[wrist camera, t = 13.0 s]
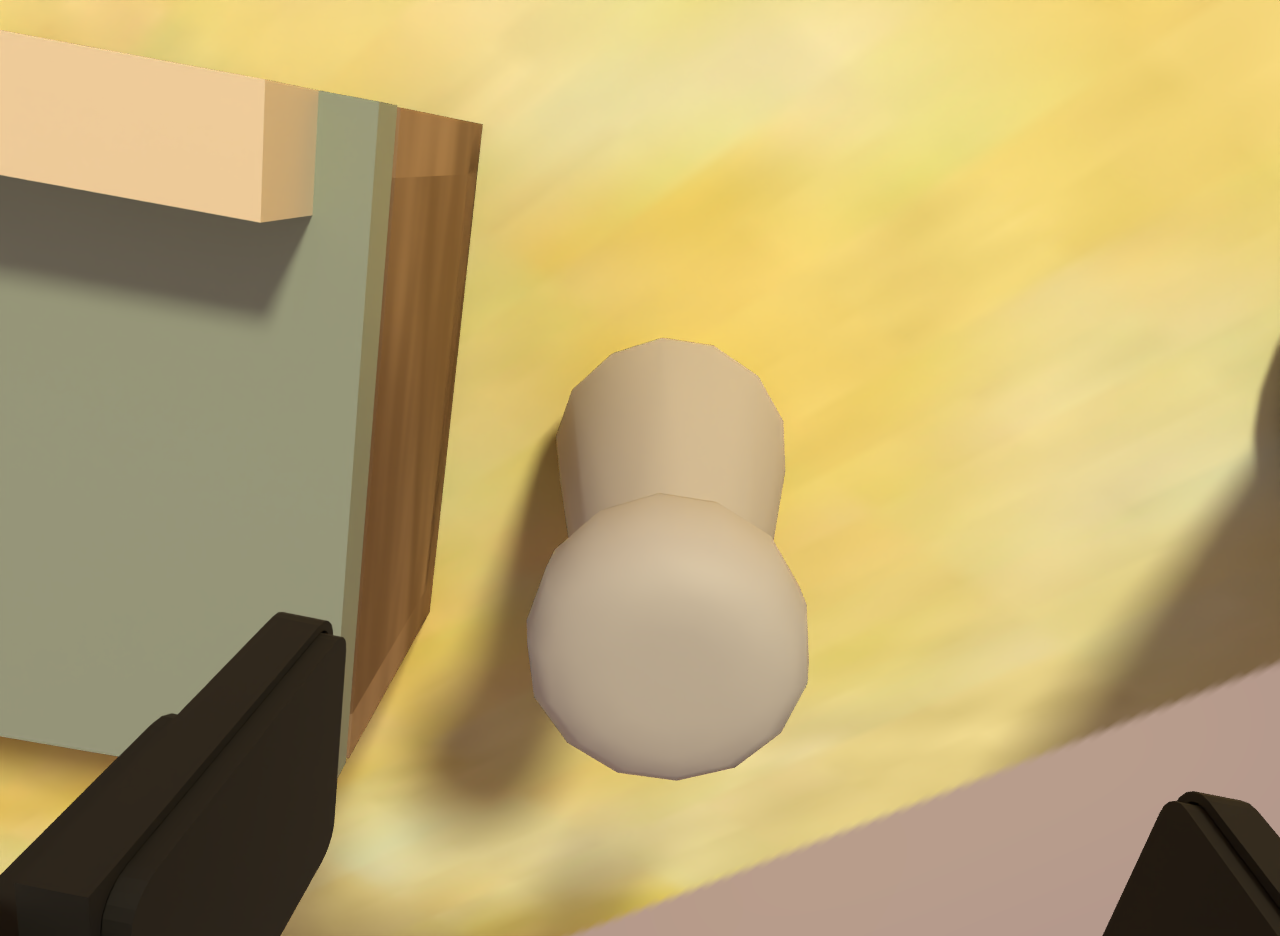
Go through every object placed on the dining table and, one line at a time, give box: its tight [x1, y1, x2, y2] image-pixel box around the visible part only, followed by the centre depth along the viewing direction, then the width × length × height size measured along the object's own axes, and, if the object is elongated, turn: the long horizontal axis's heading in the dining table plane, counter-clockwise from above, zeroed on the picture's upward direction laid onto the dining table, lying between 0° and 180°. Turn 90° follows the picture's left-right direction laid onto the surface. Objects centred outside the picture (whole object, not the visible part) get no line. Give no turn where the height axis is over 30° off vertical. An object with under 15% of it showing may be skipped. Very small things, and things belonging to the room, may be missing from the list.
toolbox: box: [346, 107, 483, 758], centre depth 21 cm, size 20×14×7 cm
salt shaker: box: [527, 338, 809, 780], centre depth 19 cm, size 6×6×13 cm
